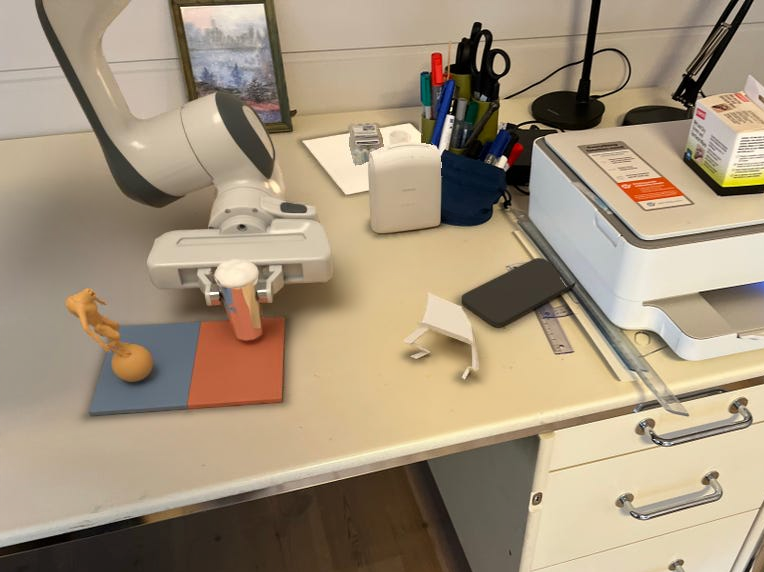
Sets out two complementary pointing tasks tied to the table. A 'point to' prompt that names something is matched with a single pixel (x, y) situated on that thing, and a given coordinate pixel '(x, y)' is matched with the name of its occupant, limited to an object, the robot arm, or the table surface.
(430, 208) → the photo printer
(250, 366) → the sorting board
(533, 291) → the phone
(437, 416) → the table surface
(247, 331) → the milkshake
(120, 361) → the figurine
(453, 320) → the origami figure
